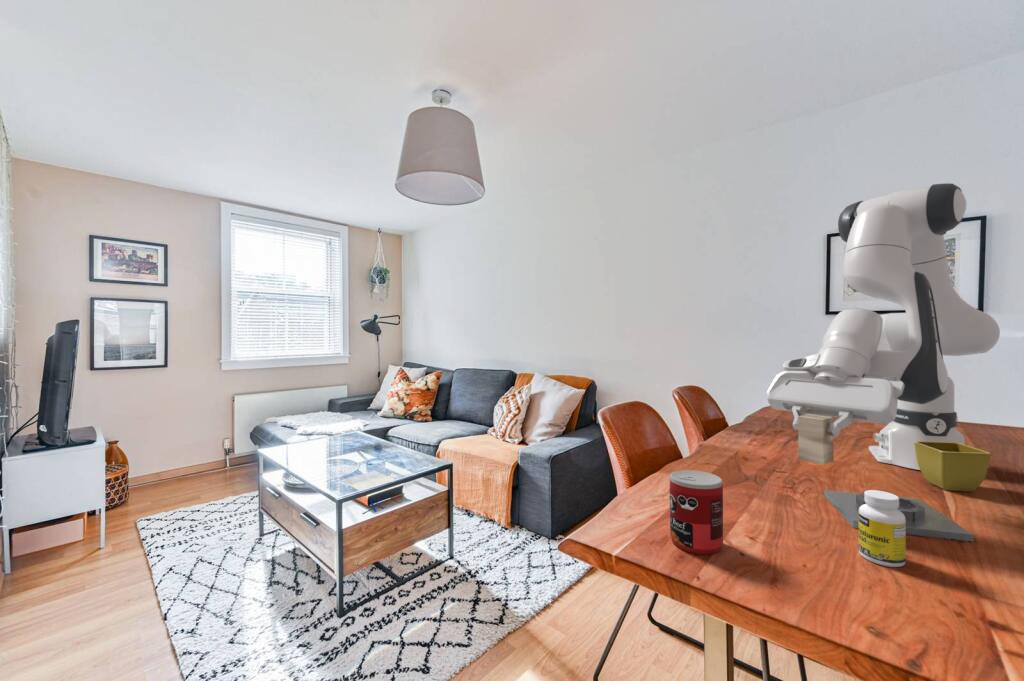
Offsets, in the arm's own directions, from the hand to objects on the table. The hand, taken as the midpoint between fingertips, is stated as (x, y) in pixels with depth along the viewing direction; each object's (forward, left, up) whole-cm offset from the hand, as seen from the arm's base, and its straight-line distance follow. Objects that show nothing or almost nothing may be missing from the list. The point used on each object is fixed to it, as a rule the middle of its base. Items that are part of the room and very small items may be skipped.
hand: (813, 431), depth 79 cm
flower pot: (-28, +32, -17) cm, 46 cm away
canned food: (+17, -21, -17) cm, 31 cm away
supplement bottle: (+13, +5, -17) cm, 21 cm away
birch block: (-1, 0, -5) cm, 5 cm away
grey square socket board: (-7, +13, -16) cm, 22 cm away
